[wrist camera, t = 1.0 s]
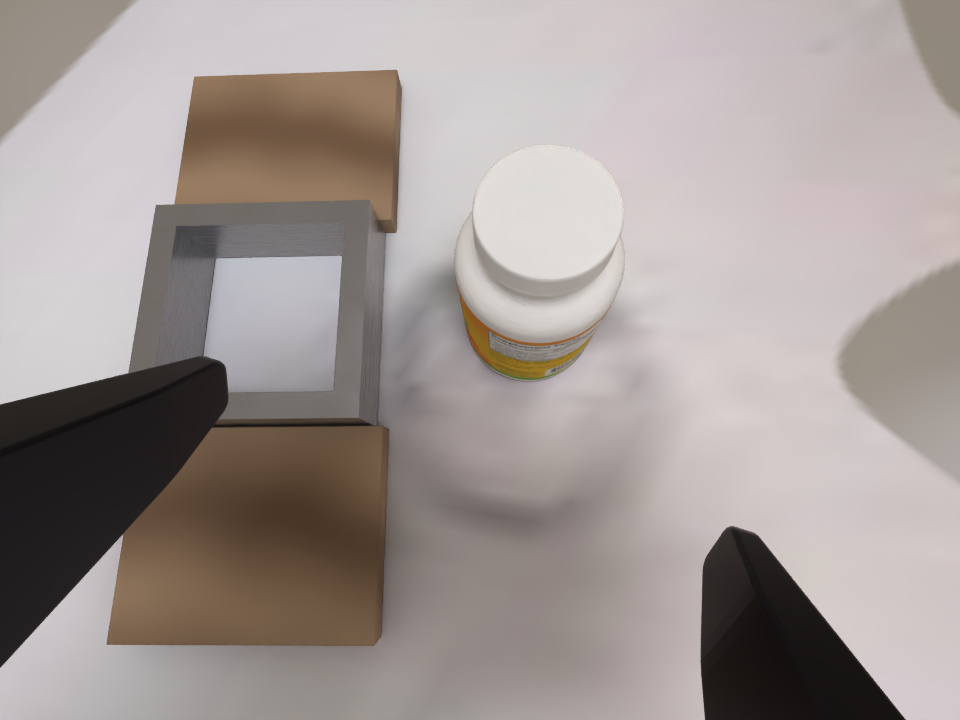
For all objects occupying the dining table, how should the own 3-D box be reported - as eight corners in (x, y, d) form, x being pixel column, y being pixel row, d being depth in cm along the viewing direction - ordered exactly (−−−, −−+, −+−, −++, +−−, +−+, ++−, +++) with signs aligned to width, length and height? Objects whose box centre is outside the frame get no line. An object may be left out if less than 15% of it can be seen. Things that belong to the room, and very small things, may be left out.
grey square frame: (377, 427, 22) (358, 417, 19) (170, 429, 22) (120, 420, 19) (385, 234, 24) (369, 199, 21) (197, 238, 24) (156, 205, 21)
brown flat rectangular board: (381, 636, 20) (373, 645, 19) (128, 635, 20) (106, 644, 19) (401, 88, 26) (396, 69, 25) (207, 94, 26) (194, 76, 25)
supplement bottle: (478, 259, 24) (465, 107, 14) (596, 277, 23) (662, 133, 14) (456, 372, 22) (425, 287, 13) (579, 393, 22) (640, 322, 12)
